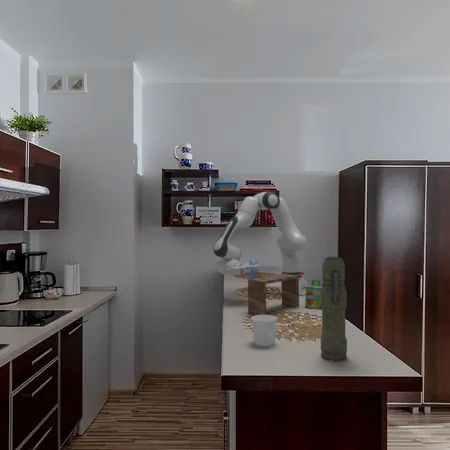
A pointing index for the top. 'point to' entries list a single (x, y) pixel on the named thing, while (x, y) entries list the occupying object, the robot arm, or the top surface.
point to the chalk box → (313, 295)
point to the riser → (259, 292)
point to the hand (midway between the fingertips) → (254, 270)
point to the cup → (264, 329)
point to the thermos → (333, 310)
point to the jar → (253, 269)
